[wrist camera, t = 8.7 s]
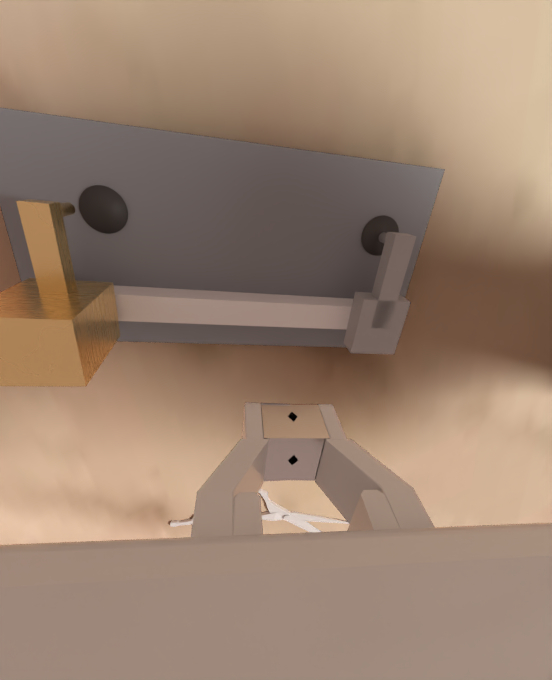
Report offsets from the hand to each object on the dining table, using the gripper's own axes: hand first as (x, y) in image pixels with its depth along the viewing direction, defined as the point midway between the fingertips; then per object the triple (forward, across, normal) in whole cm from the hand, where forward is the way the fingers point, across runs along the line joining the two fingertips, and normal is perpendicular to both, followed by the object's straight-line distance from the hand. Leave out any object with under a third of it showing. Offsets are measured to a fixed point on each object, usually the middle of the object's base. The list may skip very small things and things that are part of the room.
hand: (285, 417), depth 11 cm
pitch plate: (+12, +2, -3) cm, 13 cm away
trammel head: (+10, +10, -2) cm, 15 cm away
